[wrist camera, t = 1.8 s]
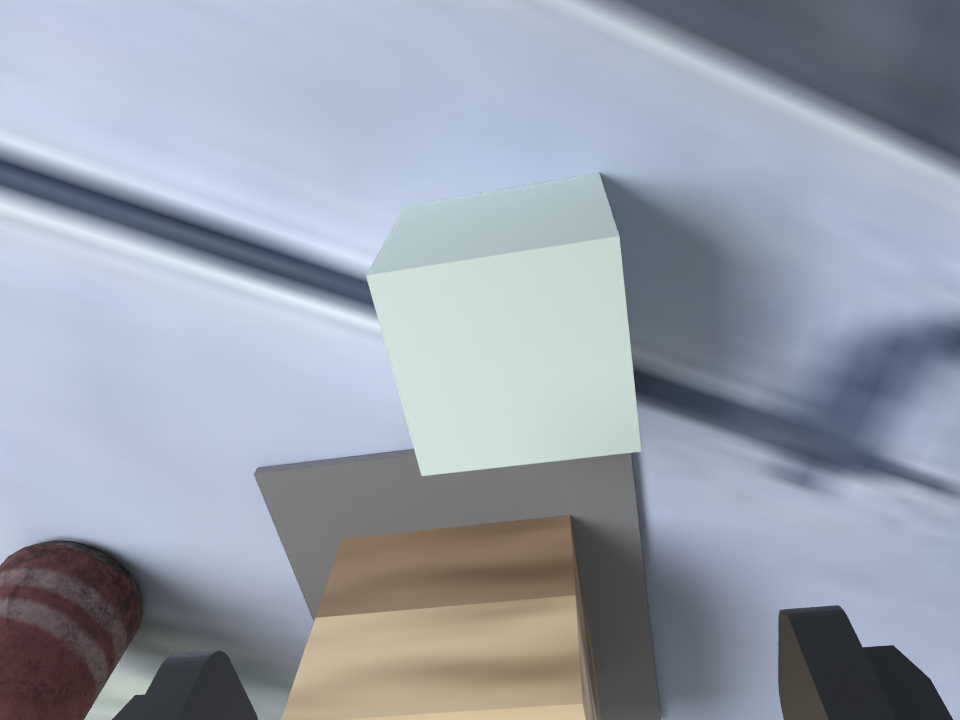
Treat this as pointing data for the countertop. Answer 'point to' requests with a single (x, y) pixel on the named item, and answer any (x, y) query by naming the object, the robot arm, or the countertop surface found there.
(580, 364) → the cube
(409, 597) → the block bottom
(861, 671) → the robot arm
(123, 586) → the can
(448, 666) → the block top
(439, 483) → the mat
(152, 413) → the countertop surface
